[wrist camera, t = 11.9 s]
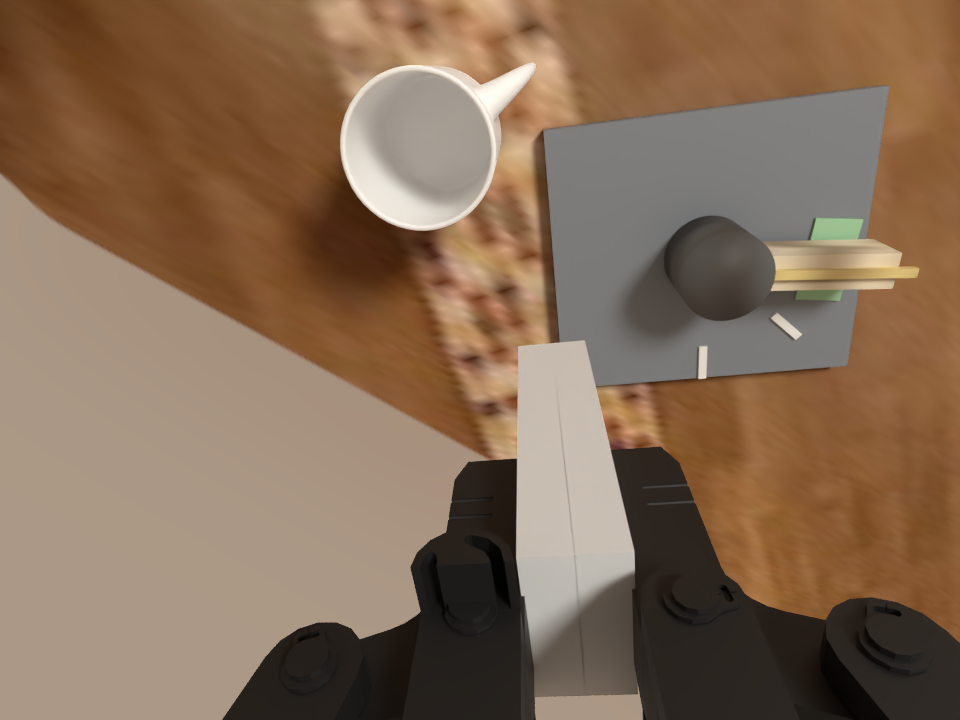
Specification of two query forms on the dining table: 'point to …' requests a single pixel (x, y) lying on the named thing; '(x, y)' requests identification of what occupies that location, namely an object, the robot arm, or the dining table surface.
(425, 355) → the dining table surface
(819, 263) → the dial lever
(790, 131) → the gauge board
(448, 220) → the mug
